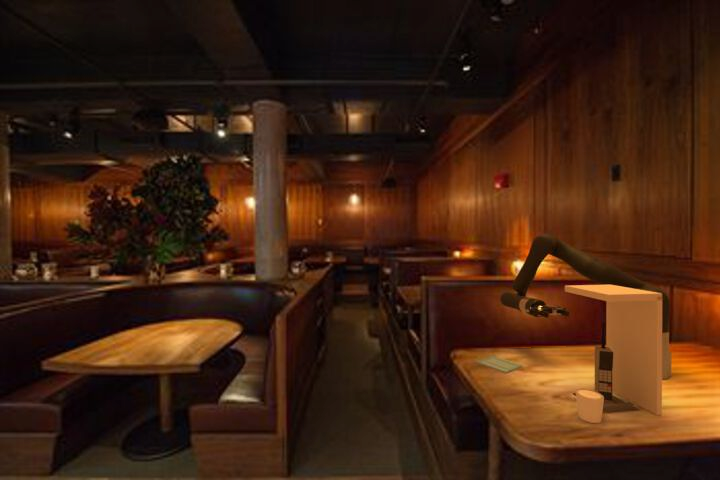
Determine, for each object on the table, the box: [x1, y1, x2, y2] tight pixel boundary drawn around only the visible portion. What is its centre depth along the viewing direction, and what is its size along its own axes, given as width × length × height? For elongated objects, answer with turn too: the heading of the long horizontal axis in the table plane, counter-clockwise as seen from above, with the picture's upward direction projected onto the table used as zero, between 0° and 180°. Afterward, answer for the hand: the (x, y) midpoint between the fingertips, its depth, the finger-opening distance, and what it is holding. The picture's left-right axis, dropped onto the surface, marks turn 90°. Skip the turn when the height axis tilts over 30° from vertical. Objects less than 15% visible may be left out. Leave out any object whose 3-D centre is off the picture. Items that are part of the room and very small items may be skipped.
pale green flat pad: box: [476, 355, 523, 375], centre depth 138 cm, size 14×12×1 cm
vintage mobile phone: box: [594, 322, 614, 404], centre depth 107 cm, size 4×5×25 cm
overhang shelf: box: [564, 284, 663, 416], centre depth 107 cm, size 17×18×36 cm
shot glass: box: [575, 388, 604, 424], centre depth 98 cm, size 7×7×7 cm
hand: (558, 314), depth 131 cm, fingers open, 8 cm apart
